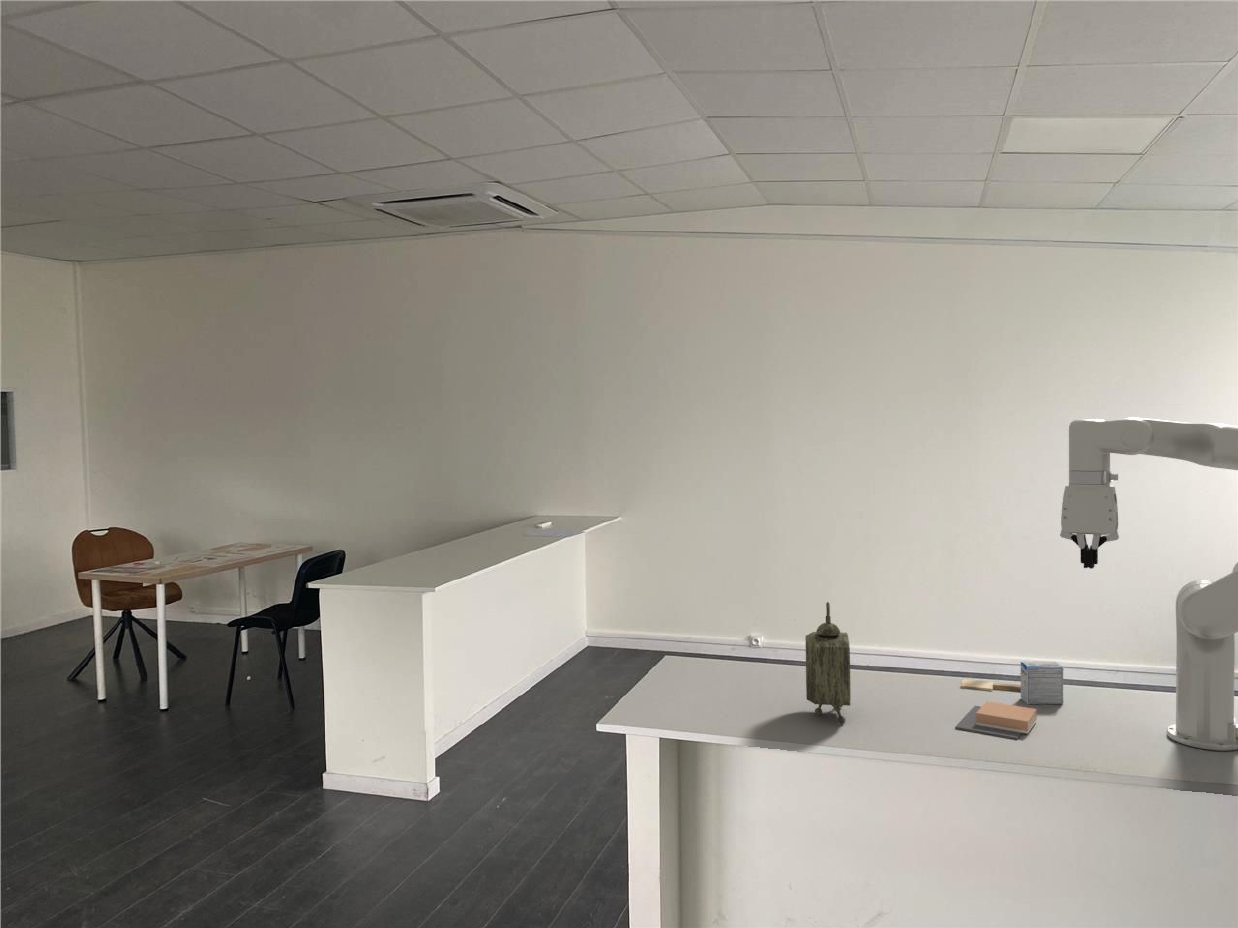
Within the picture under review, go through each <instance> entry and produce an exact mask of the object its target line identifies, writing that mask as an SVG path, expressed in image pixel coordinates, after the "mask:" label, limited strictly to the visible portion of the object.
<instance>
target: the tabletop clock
mask: <svg viewBox="0 0 1238 928" xmlns="http://www.w3.org/2000/svg"><path fill="white" fill-rule="evenodd" d="M825 605H826V606H825V608H826V614H825V615H826V616H825V622H823V623H821V624H820V625H819V626H817V629H816V631H812V632H810V633H808V634H806V635H805V637H804V638H805V640H804V641H805V691H806V692H805V693H806V701H808V702H811V703H812V704H814V705H818V707H816V708H815V709H814V712H815V715H817V716H821V715H822V714H823V710H822V706H824V705H825V706H826V705H827V706H828V705H829V706H832V707H833V709H834V710H835V712H836V713H837V716H838V717H837V722H838V723H839V724H840V725H843V724H845V723H846V717H844V716H843V715H842V713H841V711H840V709H841V708H842V707H844V706H847V707H848V706H851V653H850V652H851V650H850V649H851V648H850V640H849V634H848V632H841V630H840V628H839V627H838V625H837V624H835V623H832V622H831V617H832V616H830V614H831V610H830V609H831V605H830V602H828V601H827V602H825Z"/></svg>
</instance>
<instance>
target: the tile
mask: <svg viewBox="0 0 1238 928" xmlns="http://www.w3.org/2000/svg"><path fill="white" fill-rule="evenodd" d="M1037 711H1038V709H1036V708H1034V707H1033V708H1032V707H1025V706H1020V705H1019V706H1018V705H1011V704H1006V703H1000V702H993V701H985V702H984V703H983V705H982V706H981V708H980V709H979V710H978V711H977V712H976V725H981V726H987V727H992V728H998V729H1004V730H1010V731H1015V732H1021V733H1022V734H1027V735H1028V734H1029V733H1030V731H1031V730H1032V729H1033V727H1034V726H1035V724H1036V722H1037V719H1038V717H1037V716H1038V715H1037V714H1038V713H1037Z"/></svg>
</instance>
